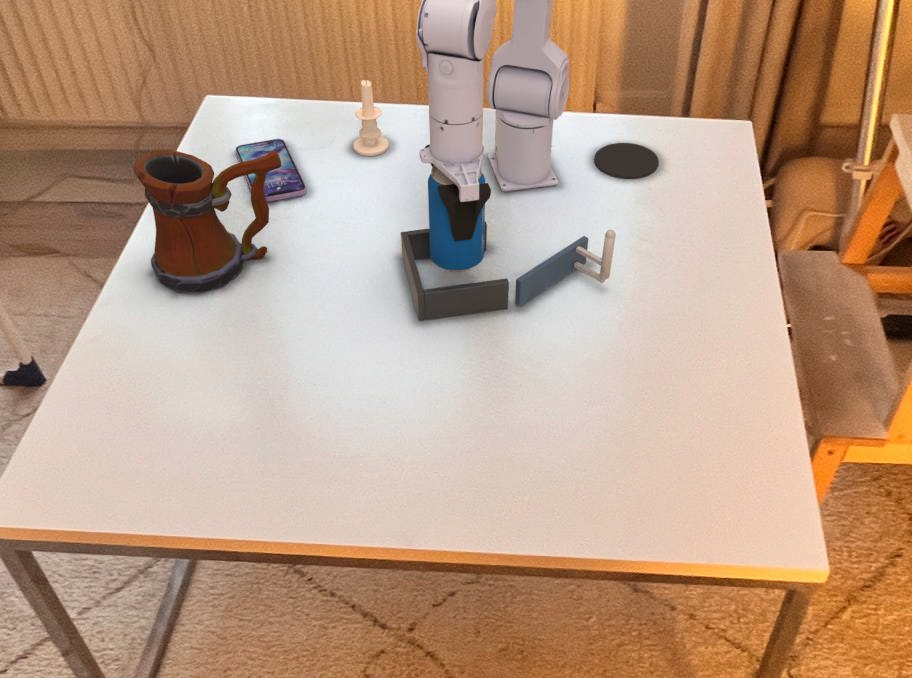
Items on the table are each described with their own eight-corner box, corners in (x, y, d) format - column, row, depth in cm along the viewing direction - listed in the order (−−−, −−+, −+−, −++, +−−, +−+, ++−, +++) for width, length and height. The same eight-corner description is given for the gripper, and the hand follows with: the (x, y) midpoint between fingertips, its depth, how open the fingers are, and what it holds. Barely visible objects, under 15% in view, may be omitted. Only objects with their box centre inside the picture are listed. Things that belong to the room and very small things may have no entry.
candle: (395, 143, 137) (391, 75, 129) (376, 159, 134) (370, 90, 126) (366, 134, 139) (360, 66, 131) (346, 150, 136) (339, 82, 128)
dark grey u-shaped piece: (485, 247, 119) (485, 220, 116) (507, 309, 110) (509, 282, 108) (402, 258, 118) (400, 231, 115) (418, 321, 109) (417, 294, 106)
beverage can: (479, 278, 109) (480, 189, 100) (425, 273, 110) (422, 184, 101) (487, 246, 113) (489, 157, 104) (436, 241, 114) (433, 153, 105)
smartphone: (283, 137, 137) (308, 189, 127) (283, 143, 137) (308, 195, 128) (233, 145, 135) (255, 199, 126) (234, 151, 136) (256, 205, 126)
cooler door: (618, 280, 113) (626, 225, 107) (551, 326, 108) (556, 270, 102) (581, 260, 116) (587, 205, 110) (514, 303, 111) (517, 248, 105)
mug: (291, 228, 123) (274, 122, 112) (300, 280, 115) (283, 173, 104) (153, 247, 121) (122, 141, 110) (154, 301, 113) (120, 194, 102)
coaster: (586, 149, 134) (586, 146, 134) (645, 142, 135) (646, 139, 135) (605, 182, 128) (605, 180, 128) (667, 174, 129) (667, 172, 129)
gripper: (407, 83, 102) (412, 191, 112) (430, 151, 92) (434, 262, 102) (470, 76, 103) (469, 184, 113) (499, 143, 93) (496, 254, 103)
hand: (456, 221), depth 108 cm, fingers closed on beverage can, 6 cm apart
